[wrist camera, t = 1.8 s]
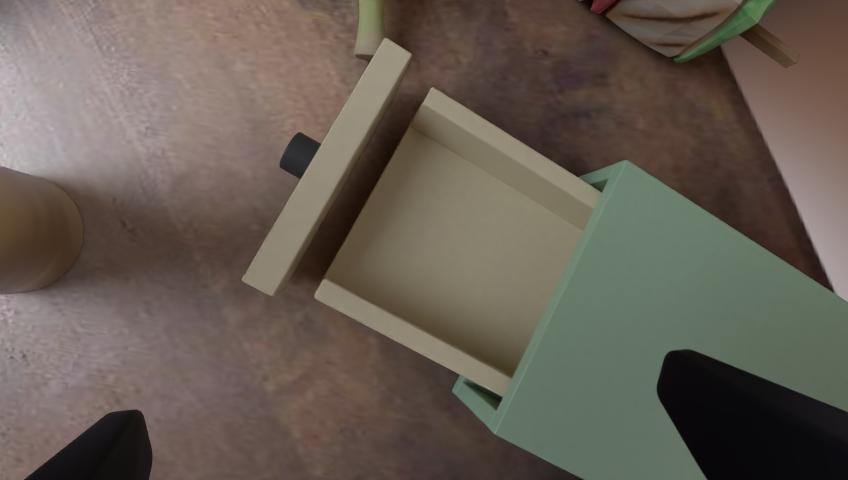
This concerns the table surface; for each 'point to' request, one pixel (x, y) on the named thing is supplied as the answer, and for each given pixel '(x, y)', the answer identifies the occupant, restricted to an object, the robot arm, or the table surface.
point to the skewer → (695, 25)
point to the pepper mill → (35, 232)
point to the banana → (370, 28)
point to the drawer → (433, 229)
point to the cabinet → (657, 333)
